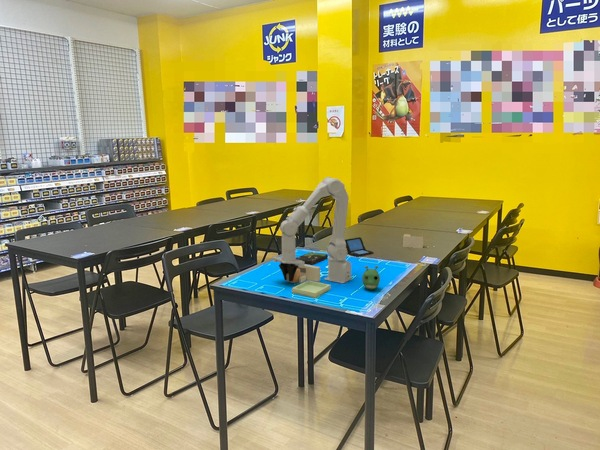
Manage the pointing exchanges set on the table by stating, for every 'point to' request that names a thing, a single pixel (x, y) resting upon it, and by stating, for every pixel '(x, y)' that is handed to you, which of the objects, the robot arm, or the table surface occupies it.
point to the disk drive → (312, 258)
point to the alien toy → (371, 278)
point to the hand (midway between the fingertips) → (288, 280)
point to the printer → (309, 273)
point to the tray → (311, 289)
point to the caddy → (296, 276)
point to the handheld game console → (356, 247)
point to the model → (412, 241)
